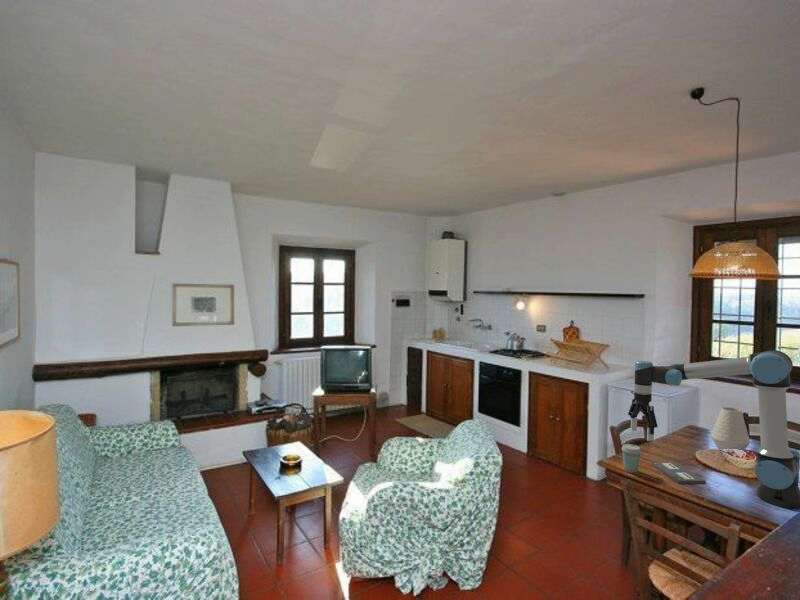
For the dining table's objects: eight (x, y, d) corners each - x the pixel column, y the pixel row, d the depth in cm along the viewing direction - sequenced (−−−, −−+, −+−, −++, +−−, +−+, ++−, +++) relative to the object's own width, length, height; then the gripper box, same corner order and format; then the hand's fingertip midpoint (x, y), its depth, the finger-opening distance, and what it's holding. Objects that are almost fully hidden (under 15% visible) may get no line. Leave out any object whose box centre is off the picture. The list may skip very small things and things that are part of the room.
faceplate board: (705, 483, 205) (705, 479, 205) (678, 483, 205) (678, 480, 205) (677, 465, 225) (677, 462, 225) (652, 465, 225) (652, 462, 224)
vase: (747, 459, 233) (749, 416, 232) (707, 450, 245) (709, 409, 244) (751, 450, 246) (753, 409, 245) (713, 442, 258) (715, 403, 257)
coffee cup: (643, 475, 213) (643, 450, 212) (623, 473, 215) (624, 449, 214) (637, 467, 221) (638, 444, 221) (618, 466, 223) (619, 442, 223)
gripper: (667, 399, 204) (665, 444, 205) (635, 386, 229) (634, 427, 230) (651, 399, 204) (650, 445, 205) (621, 386, 229) (620, 427, 230)
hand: (641, 435), depth 218 cm, fingers open, 13 cm apart
